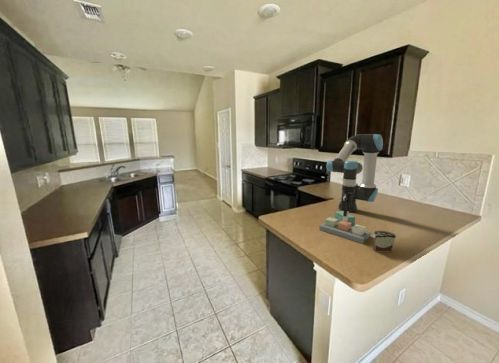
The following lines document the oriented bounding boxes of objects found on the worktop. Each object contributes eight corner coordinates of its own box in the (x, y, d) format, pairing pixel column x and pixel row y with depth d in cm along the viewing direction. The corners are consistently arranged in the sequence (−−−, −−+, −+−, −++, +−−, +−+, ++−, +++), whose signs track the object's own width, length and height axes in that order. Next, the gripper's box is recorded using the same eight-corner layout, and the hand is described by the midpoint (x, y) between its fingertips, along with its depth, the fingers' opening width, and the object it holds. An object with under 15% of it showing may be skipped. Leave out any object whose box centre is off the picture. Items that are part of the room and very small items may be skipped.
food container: (386, 245, 129) (389, 230, 127) (394, 251, 123) (396, 234, 121) (366, 246, 129) (368, 230, 126) (372, 251, 123) (374, 235, 120)
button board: (328, 223, 160) (328, 220, 160) (370, 236, 141) (370, 232, 140) (319, 229, 150) (319, 225, 150) (362, 243, 131) (363, 239, 131)
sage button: (328, 222, 155) (329, 217, 155) (337, 224, 151) (337, 219, 150) (325, 224, 151) (325, 219, 150) (333, 227, 147) (333, 221, 146)
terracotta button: (341, 226, 149) (342, 220, 148) (350, 228, 145) (351, 223, 144) (337, 228, 145) (338, 222, 144) (347, 231, 141) (347, 225, 140)
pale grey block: (355, 230, 143) (356, 224, 142) (365, 233, 139) (366, 227, 138) (351, 232, 139) (352, 227, 138) (361, 235, 135) (362, 229, 134)
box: (345, 227, 154) (346, 217, 153) (333, 220, 167) (334, 211, 166) (354, 226, 156) (355, 216, 154) (342, 219, 169) (343, 210, 167)
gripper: (346, 182, 146) (343, 216, 151) (338, 185, 137) (335, 221, 142) (358, 184, 141) (354, 219, 146) (350, 187, 132) (346, 224, 137)
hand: (345, 220), depth 144 cm, fingers closed
